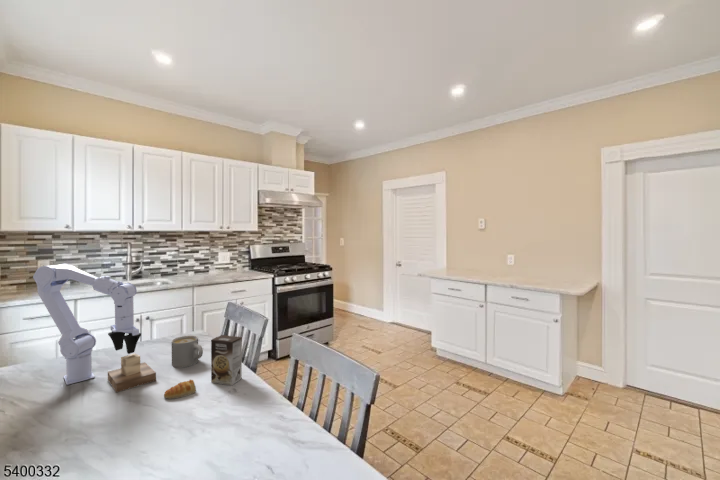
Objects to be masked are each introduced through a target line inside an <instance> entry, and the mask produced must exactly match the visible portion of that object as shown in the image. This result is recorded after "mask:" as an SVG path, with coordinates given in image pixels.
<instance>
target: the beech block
mask: <svg viewBox="0 0 720 480" xmlns="http://www.w3.org/2000/svg"><path fill="white" fill-rule="evenodd" d="M140 363H141V355H139V354H137V353H135V352H133V353H130V354H127V355H124V356H121V357H120V364H121V365H120V368H121V373H122V374H124V375H125V376H129V375H132V374H135V373H138V372H140Z"/></svg>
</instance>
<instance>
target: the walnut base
mask: <svg viewBox="0 0 720 480" xmlns="http://www.w3.org/2000/svg"><path fill="white" fill-rule="evenodd" d="M107 380H108V382H109V384H110V385H111V386H112V388H113V389H114V391H115V393H119V392H123V391H127V390H129V389H134V388H135V387H139V386H143V385H145V384H146V385H147V384H150V383H154V382H156V381H157V372H156V371H155V370H154V369H153V368H152V367H151V366H149V365H148V363H146V361H143V362H140V372H138V373H135V374H132V375H129V376H125V375H124V374H122V373H121V367H120V368H116V369H114V370H109V371H107Z"/></svg>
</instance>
